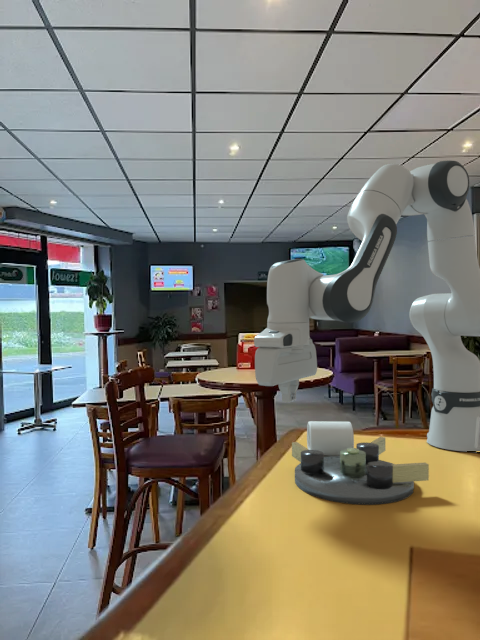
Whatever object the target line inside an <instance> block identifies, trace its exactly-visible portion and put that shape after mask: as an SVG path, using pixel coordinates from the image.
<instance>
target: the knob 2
mask: <svg viewBox="0 0 480 640" xmlns="http://www.w3.org/2000/svg"><path fill="white" fill-rule="evenodd" d="M355 448H357V449H359V450H361V451H364V452H365V453H366V464H367V463H369V462H375V461H378V462H379V460H380V459H379V458H380V455H382V454H383V453H384V452H385V451H386V437H385V436H379V437H378V438H376V439H374V440H373V441H370V442H358V443H356V447H355Z"/></svg>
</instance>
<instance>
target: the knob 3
mask: <svg viewBox="0 0 480 640" xmlns="http://www.w3.org/2000/svg"><path fill="white" fill-rule="evenodd" d="M386 462H387V461H386ZM386 462H378V461H375V462H369V463H367V484H368V485H370V486H373V487H378V488H388V487H391V486H393V483H396V482H411V481H414V482H424V481H429V477H430V475H429V469H430V467H429V465H430V464H429V463H427V462H411V463H397V464H395V463H393V464H389V463H386Z"/></svg>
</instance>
